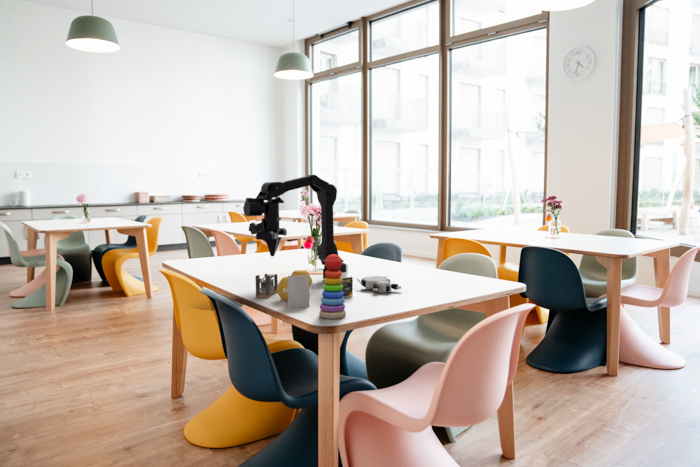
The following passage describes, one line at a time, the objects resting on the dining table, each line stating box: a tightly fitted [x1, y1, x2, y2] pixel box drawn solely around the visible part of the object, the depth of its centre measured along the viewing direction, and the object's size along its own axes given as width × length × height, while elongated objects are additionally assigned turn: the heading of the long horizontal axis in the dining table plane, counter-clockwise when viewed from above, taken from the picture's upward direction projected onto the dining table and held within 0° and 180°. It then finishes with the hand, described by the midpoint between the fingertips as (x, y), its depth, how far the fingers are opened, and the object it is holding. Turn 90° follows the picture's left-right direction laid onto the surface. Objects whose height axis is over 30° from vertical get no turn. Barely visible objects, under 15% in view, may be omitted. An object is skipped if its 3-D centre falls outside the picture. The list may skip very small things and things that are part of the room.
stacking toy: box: [318, 254, 347, 320], centre depth 154 cm, size 8×8×19 cm
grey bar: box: [259, 274, 275, 284], centre depth 185 cm, size 10×2×1 cm, turn 170°
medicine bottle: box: [339, 261, 354, 298], centre depth 184 cm, size 7×7×12 cm
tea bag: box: [287, 274, 311, 309], centre depth 168 cm, size 4×7×10 cm, turn 100°
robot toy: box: [356, 275, 402, 294], centre depth 193 cm, size 12×4×15 cm
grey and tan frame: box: [255, 273, 279, 299], centre depth 185 cm, size 11×5×8 cm, turn 170°
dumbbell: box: [276, 269, 313, 302], centre depth 184 cm, size 19×9×8 cm, turn 170°
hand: (272, 256), depth 197 cm, fingers closed
